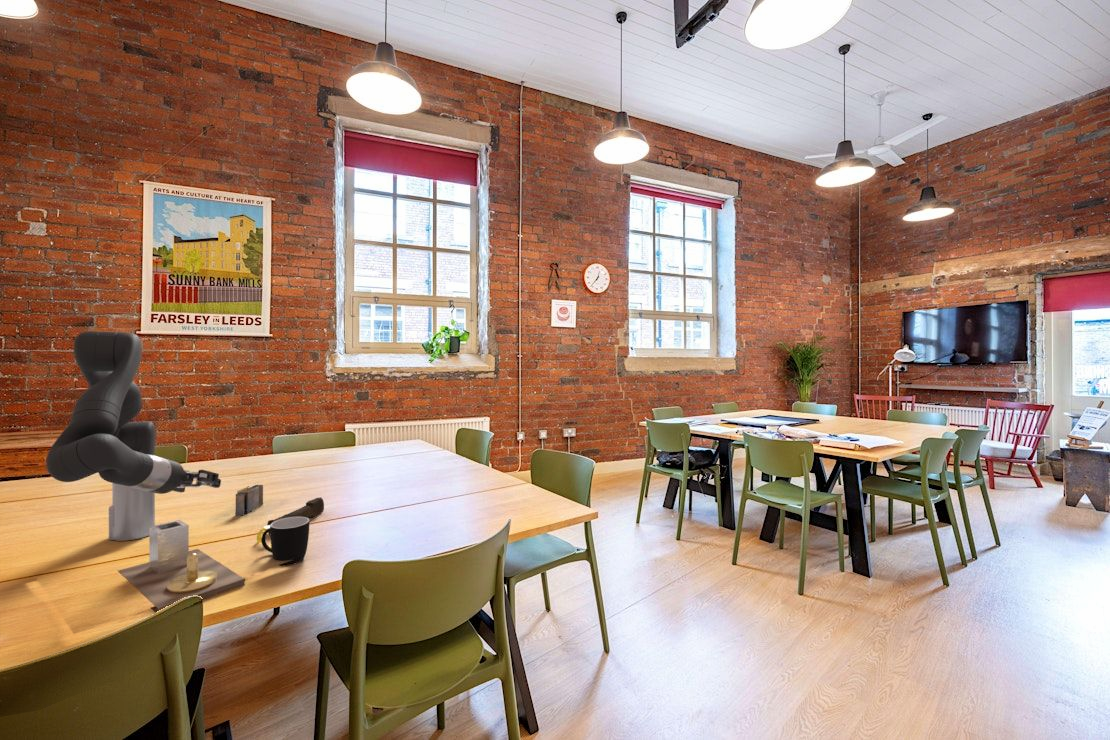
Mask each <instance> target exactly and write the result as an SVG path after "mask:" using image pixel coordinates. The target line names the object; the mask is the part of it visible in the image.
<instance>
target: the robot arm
mask: <svg viewBox="0 0 1110 740" xmlns="http://www.w3.org/2000/svg"><path fill="white" fill-rule="evenodd" d="M142 348H143V347H142V342H141V338H140V337H139V336H138V335H137V334H136V333H133V332H132V333H131V332H126V331H125V332H123V331H119V332H118V331H104V330H103V331H102V330H87V331H83V332H80V333H78V335H76V337H75V338H74V340H73V354H74V358H75V362H76V364H77V366H78V368H79V371H80V372H81V374H82V376H83V377H84V379H85V381H86V383H87V385H88V389H86V390H85V391H84V392H83V393H81V395H80V396H79V397H78V398H77V400H76V401H75V404H74V407H73V410H72V413H71V416H70V420H69V424H68V425H67V426H66V427H65V428H64V430H63V431H62V432H61V433H60V435H59V436H58V437H57V439H56V440H55V441H54V442H53V444H52V446H51V447H50V449H49V451H48V453H47V455H46V459H45V465H46V470H47V472H48V474H49V475H50V476H51V478H53V479H55V480H57V481H59V482H62V483H72V482H77V481H80V480H82V479H85V478H88V477H90V476H92V475H95V474H97V473H98V476H99V477H100V478H101V479H103V480H104V481H106V482H108V483H111V484H112V485H111V487H112V488H111V489H112V496H111V497H112V505H110V506H109V507H108V541H119V542H123V541H124V542H125V541H133V540H134V541H135V540H137V539H142V538H145V537H148V536H149V526H154V525H156V522H155V521H156V520H155V519H156V509H155V508H156V506H155V505H156V504H155V503H156V500H155V499H156V495H155V494H157V495H158V494H159V495H165V494H167V493H170V492H177V493H184V492H186V488H200V487H201V486H202V487H203V486H205V487H210V488H214V489H219V488H220V486H221V483H222V479H220V478H219V475H220V474H219V473H217V472H212V471H211V470H206V469H198V471H190V470H188V469H187V470H186V469H184V467H183V466H182V464H181V463H180V462H177V461H174V460H171V459H167V458H165V457H161V456H157V455H155V453H156V452H155V451H156V438H157V437H156V436H157V435H156V434H157V433H156V432H157V431H156V425H155V424H154V423H153V422H152V421H132V420H133V419H135V418H136V417H137V416H138V415H139V414H140V413H141V410H142V409H143V403H144V402H143V398H142V392H141V390H140V388H139V386H138V384H136V382H134V379H135V377H136V374H137V372H138V370H139V368H140V364H141V361H142V353H143V352H142V351H143V350H142ZM131 421H132V422H131ZM194 480H196V481H195V483H193V482H194Z"/></svg>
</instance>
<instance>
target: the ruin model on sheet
mask: <svg viewBox="0 0 1110 740" xmlns="http://www.w3.org/2000/svg"><path fill="white" fill-rule="evenodd" d="M262 506H264V484H254V485H252V486H250V485H248V486H246V487H244V488H242V489H240V490H237V491H236V493H235V516H236V515H244V516H245V512H246V514H249V513H251V512H252V511H255V510H257V509H258V508H260V507H262ZM254 509H255V510H254ZM250 511H251V512H250Z"/></svg>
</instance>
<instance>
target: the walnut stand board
mask: <svg viewBox="0 0 1110 740" xmlns="http://www.w3.org/2000/svg"><path fill="white" fill-rule="evenodd" d="M192 553H196V554H197V555H198V571H214V572H216V573H217V580H216V582H215V583H214V584H212V585H210V586H209V587H206V588H204V589H201V590H198V591H195V592H190V593H184V594H172V593H169V592H168V591H167V584H168V582H169V581H171V580H172V579H174V578H176V577H178V576H181V575H184V574H187V566H184V567H180V568H177V569H173V570H170V571H166V572H163V573H160V574H157V573H156V572H155V571H154V570H152V569H151V568H150V562H149V561H148V562H144V563H140V564H137V565H133V566H130V567H126V568H123V569H119V570H117V571H118V573H119V574H120V575H121V576H122V577H124V578H125V579H126V580H127V581H128V582H129V583H130V584H131V585H133V587H135V588H136V589H137V590H138V592H140V593H141V594H142V595H143V596H144V597H145V598H146V599H147V600H148V601H149V602H151V604H153V605H154V606H152V607H150V610H152V612H154V613H155V612H157V611H159V610H161V609H163V608H165V607H166V606H169V605H171V604H173V603H174V602H176V601H178V600H180V599H182V598H184V597H188V596H193V595H198V596H201V597H202V598H203V600H206V599H208V598H211V597H215V596H218V595H221V594H223V593H226V592H229V591H231V590H234V589H237V588H240V586H241V587H243V586H245V585H246V584H245V578H244V577H243V576H241V575H240V574H239V573H236V572H235V571H233V570H231V569H230V568H229V567H227V566H225V565H223V564H222V563H221V562H219V561H218V560H216V559H214V558H213V557H211V556H209V555H208V554H206V553H205V552H204V551H202V550H200V549H199V548H195V549H192V550H189V555H190V554H192Z"/></svg>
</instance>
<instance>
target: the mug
mask: <svg viewBox="0 0 1110 740" xmlns="http://www.w3.org/2000/svg"><path fill="white" fill-rule="evenodd" d="M269 531H270V534H269V533H268V532H269ZM267 534H269V536H270V545H269V546H271V547H269V546H268V544H267V541H266V536H267ZM309 535H310V518H306V517H288V518H283V519H279V520H276V521H274V522H273V523H271V525H270V528H269V529H267V530H266V531H263V532H262V534H261V541H262V543H261V545H262V547H263V548H264V549H265V551H268V552H270V553H271V554H272V557H273V558H272V559H274V560H275V561H276V562H277V561H278V562H283V563H281V564H278V565H279V566H292V565H295V563H296V564H298V563H300V562H302V561H303V560H304V558H305V556H306V554H307V550H308V544H309Z"/></svg>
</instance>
